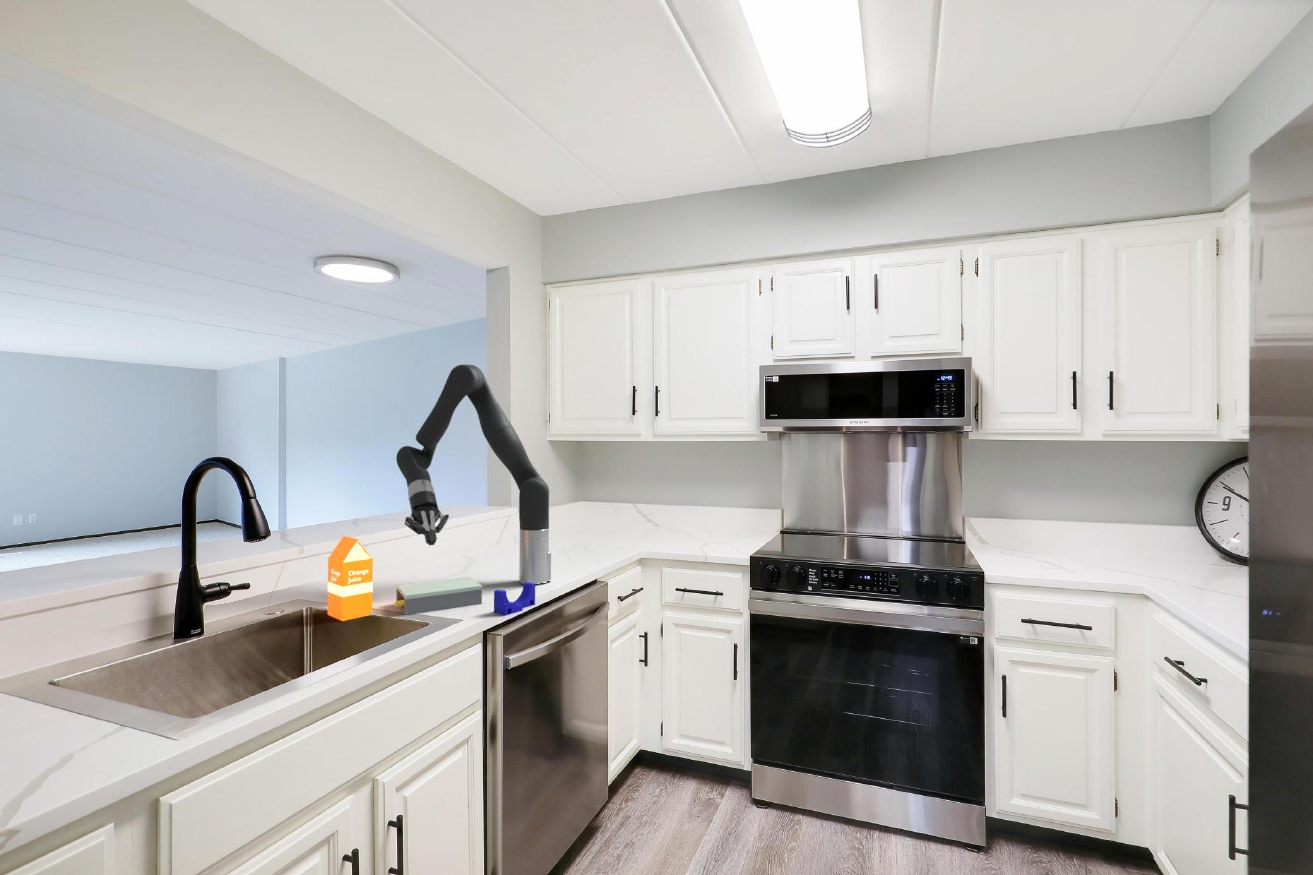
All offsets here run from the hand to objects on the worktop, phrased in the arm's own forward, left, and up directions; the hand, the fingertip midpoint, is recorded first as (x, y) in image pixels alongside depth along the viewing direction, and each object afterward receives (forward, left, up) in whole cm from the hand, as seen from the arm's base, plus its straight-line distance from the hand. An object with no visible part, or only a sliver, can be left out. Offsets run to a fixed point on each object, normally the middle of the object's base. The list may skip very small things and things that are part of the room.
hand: (432, 543), depth 173 cm
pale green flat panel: (0, +9, -11) cm, 14 cm away
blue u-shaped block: (-16, +25, -16) cm, 34 cm away
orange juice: (+22, +6, -16) cm, 28 cm away
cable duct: (0, +8, -15) cm, 18 cm away
